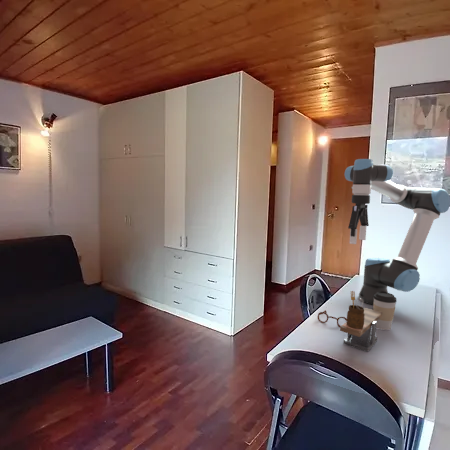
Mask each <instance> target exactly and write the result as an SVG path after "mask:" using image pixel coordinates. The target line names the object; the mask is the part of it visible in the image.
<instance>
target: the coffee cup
mask: <svg viewBox="0 0 450 450" xmlns="http://www.w3.org/2000/svg"><path fill="white" fill-rule="evenodd" d="M373 298H374V303H373V304H372V305H373V307H372V310H376V311H379V312H383V313H382V317H380V318H379V319H378V320H377V324H376V329H378V330H384V331H390V330H391V329H392V324H393V320H394V316H395V311H396V304H397V297H395V295H394V294H392V293H390V292H388V293H387V292H385V291H380V292H377V293H376V294H374V297H373Z"/></svg>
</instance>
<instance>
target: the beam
mask: <svg viewBox="0 0 450 450" xmlns="http://www.w3.org/2000/svg"><path fill="white" fill-rule="evenodd" d="M363 308H364V312H363V313H364V315H365V319H364V326H363V328H361V329H355V328H351V327H349V326H348V325H347V321H345V322H344V323H343V324H342V325H340V327H339V331H340V332H343V333H346V334H348V333H349V334H352V335H355V336H358V337H360V336H361V335H362V334H363V333H364V332H365V331H367V330H368V329H369V328H370V327H371V328H372V323H373V322H374V321H377V320H378V319H379V318H380V317H382V313H383V312H379V311H376V310H373V308H369V307H368V308H367V307H363Z"/></svg>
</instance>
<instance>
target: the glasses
mask: <svg viewBox="0 0 450 450" xmlns="http://www.w3.org/2000/svg"><path fill="white" fill-rule="evenodd" d="M321 315H325V316H326V320H325V321H322V320H321V319H320V316H321ZM329 318H331V319H333V320H336V325H337V326H338V327H339V328H340V326H341V325H340V324H339V320H340V319H344V320H345V322H347V317H345V316H339V317H335V316H329V314H328V312H327V310H326V309H325V310H323V311H319V312H318V314H317V320H318V322H319V323H322V324H325V323H327V322H328V320H329Z"/></svg>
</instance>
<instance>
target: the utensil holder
mask: <svg viewBox="0 0 450 450" xmlns="http://www.w3.org/2000/svg"><path fill="white" fill-rule="evenodd" d="M355 295H356V294H355V291H354V290H352V291H351V290H350V300H351V301H352V304H350V305H349V306H348V311H347V313H346V319H347V321H346V322H347V325H348V326H349V327H351V328H355V329H361V328H363V326H364V319H365V315H364V313H363V312H364V308H365V307H363V305H364V303H365V302H363V301H361V298H360V299H359V298H358V299H357V300H356V296H355ZM355 300H356V304H355ZM362 300H363V299H362ZM358 303H359V304H358ZM360 304H361V305H360Z"/></svg>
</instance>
